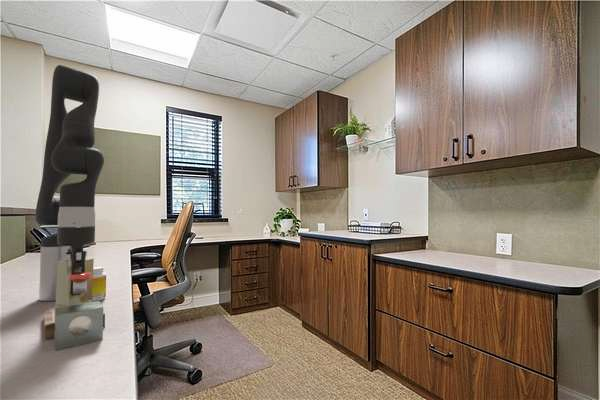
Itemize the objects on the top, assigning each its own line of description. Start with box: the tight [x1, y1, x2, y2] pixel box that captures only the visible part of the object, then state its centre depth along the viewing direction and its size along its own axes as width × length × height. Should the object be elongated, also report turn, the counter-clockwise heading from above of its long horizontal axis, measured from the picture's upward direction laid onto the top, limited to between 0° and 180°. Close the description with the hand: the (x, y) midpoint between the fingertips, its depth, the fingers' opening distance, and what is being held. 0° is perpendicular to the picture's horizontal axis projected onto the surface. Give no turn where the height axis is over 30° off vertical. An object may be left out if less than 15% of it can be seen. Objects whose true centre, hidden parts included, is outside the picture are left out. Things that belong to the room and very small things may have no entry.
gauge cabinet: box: [53, 300, 104, 352], centre depth 63 cm, size 6×8×7 cm
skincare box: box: [54, 257, 95, 310], centre depth 72 cm, size 6×4×12 cm
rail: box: [43, 309, 106, 341], centre depth 73 cm, size 18×11×3 cm, turn 42°
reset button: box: [69, 272, 91, 294], centre depth 64 cm, size 4×4×4 cm
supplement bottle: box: [92, 266, 107, 302], centre depth 94 cm, size 6×6×10 cm
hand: (75, 291), depth 72 cm, fingers closed on skincare box, 7 cm apart
